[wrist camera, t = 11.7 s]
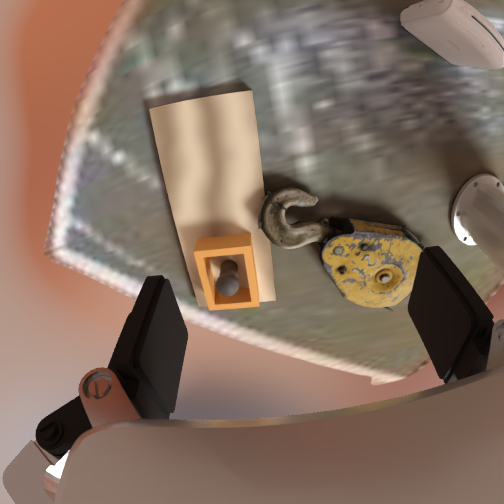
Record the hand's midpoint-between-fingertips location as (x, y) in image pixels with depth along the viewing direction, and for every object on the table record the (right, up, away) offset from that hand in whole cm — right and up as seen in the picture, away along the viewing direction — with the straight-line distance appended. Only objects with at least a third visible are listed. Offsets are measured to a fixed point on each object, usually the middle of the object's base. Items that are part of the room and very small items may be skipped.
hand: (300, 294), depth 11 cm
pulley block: (+13, +3, +32) cm, 34 cm away
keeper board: (-6, +7, +29) cm, 30 cm away
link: (-5, -1, +32) cm, 32 cm away
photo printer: (+21, +29, +15) cm, 39 cm away
